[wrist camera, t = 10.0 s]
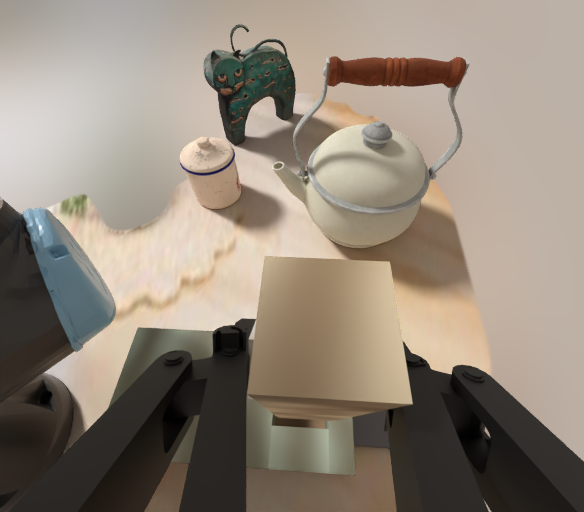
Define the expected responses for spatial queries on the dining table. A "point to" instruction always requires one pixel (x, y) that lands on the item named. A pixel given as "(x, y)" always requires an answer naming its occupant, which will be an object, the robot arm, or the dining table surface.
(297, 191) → the kettle
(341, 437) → the green block with hole
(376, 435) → the rubber mat
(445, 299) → the dining table surface
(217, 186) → the teacup with lid
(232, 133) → the ceramic cat
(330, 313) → the wooden block
